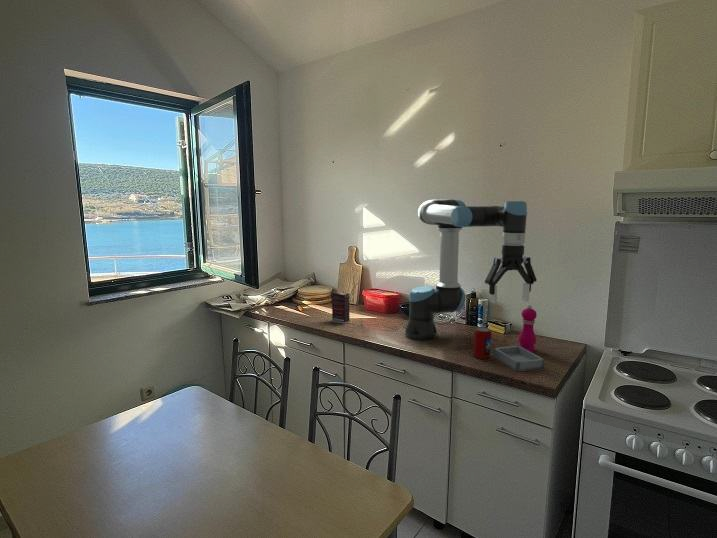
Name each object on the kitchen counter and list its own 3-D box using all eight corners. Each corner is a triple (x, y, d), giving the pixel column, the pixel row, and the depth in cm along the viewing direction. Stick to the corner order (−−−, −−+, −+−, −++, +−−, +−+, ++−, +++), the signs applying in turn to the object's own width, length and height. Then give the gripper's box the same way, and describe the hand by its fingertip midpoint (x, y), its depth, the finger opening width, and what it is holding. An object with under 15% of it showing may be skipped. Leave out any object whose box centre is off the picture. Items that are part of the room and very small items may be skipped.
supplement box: (350, 321, 219) (349, 293, 216) (344, 324, 215) (344, 294, 212) (337, 319, 223) (336, 291, 221) (331, 321, 219) (331, 292, 217)
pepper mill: (520, 345, 183) (523, 302, 179) (537, 349, 178) (541, 304, 175) (515, 350, 177) (518, 305, 174) (532, 353, 173) (536, 308, 169)
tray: (493, 356, 170) (493, 348, 169) (517, 353, 173) (518, 345, 173) (517, 371, 155) (517, 362, 154) (543, 368, 158) (544, 359, 157)
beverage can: (491, 360, 166) (492, 332, 164) (473, 359, 167) (475, 330, 165) (489, 354, 172) (490, 327, 170) (472, 353, 174) (474, 326, 172)
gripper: (488, 246, 140) (485, 306, 143) (549, 244, 146) (545, 301, 150) (476, 244, 147) (474, 301, 150) (535, 242, 153) (531, 297, 157)
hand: (509, 301), depth 150 cm, fingers open, 13 cm apart
